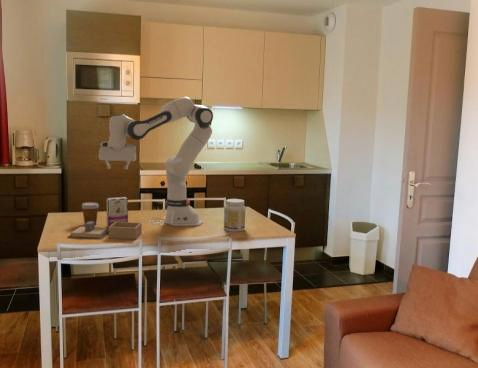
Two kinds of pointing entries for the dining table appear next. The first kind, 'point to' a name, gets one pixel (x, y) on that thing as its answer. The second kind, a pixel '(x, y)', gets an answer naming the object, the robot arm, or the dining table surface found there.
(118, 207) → the candy bar box
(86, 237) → the mat
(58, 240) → the dining table surface
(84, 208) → the disposable coffee cup
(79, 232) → the lid
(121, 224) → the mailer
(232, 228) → the supplement tub
